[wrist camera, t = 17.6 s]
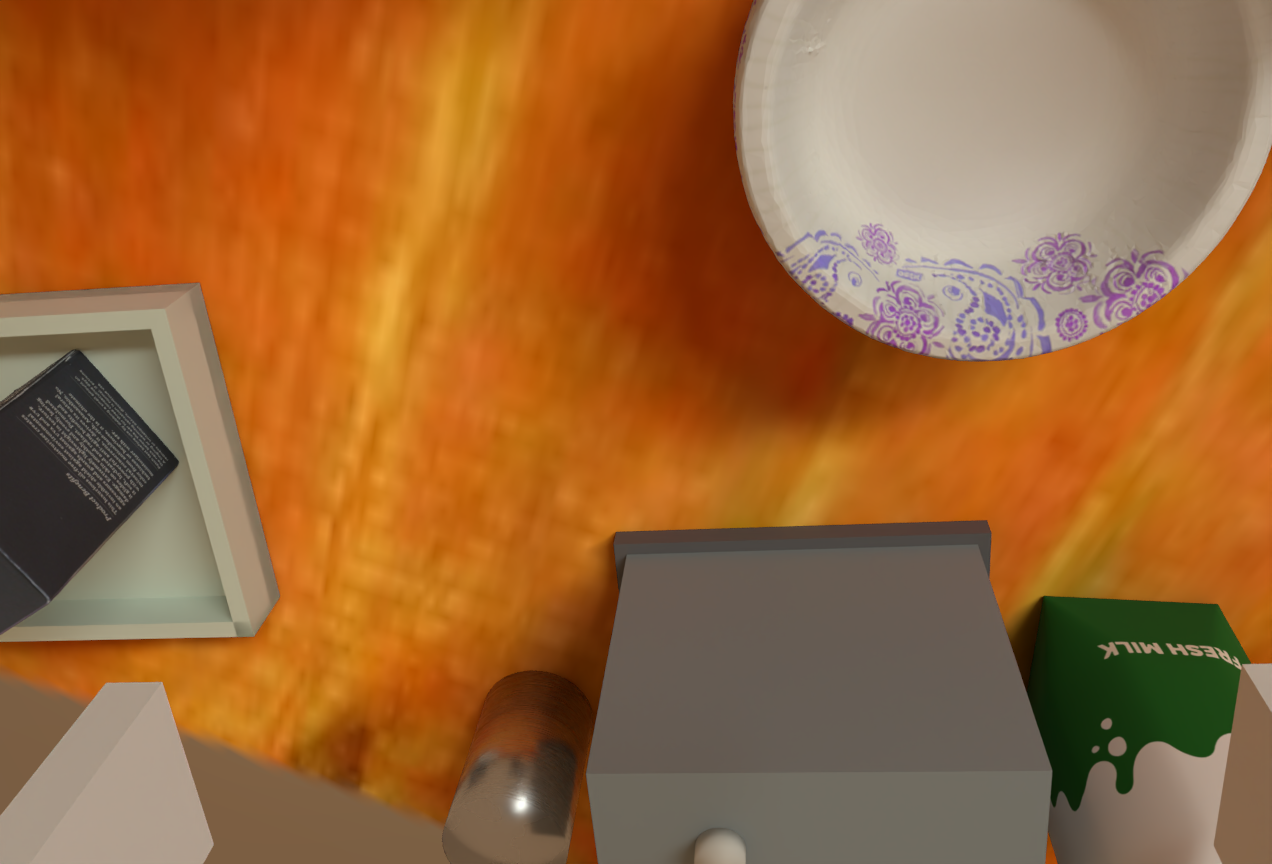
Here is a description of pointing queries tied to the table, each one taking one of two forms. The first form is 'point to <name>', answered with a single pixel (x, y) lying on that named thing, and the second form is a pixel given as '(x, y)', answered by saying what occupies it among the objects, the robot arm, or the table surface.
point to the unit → (814, 702)
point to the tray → (185, 501)
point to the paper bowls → (999, 158)
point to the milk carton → (1134, 726)
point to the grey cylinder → (521, 774)
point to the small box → (67, 479)
